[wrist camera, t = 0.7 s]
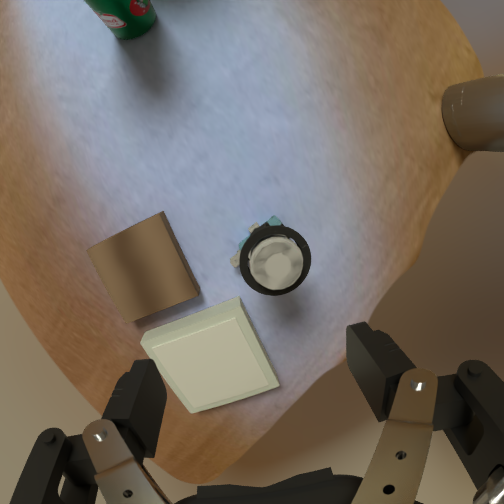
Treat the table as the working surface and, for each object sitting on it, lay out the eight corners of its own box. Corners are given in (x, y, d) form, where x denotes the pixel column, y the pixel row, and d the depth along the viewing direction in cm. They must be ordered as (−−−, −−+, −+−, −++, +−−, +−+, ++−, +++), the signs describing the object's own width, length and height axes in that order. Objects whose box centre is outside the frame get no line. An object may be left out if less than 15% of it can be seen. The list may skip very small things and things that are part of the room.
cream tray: (239, 295, 32) (240, 306, 29) (276, 373, 35) (280, 387, 33) (145, 331, 32) (139, 344, 30) (192, 400, 36) (190, 414, 33)
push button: (247, 278, 31) (257, 324, 22) (214, 240, 30) (209, 273, 20) (297, 239, 31) (328, 269, 21) (265, 199, 29) (285, 212, 20)
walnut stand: (163, 210, 29) (159, 213, 27) (200, 288, 31) (198, 295, 29) (93, 245, 29) (86, 250, 27) (131, 315, 32) (126, 323, 30)
